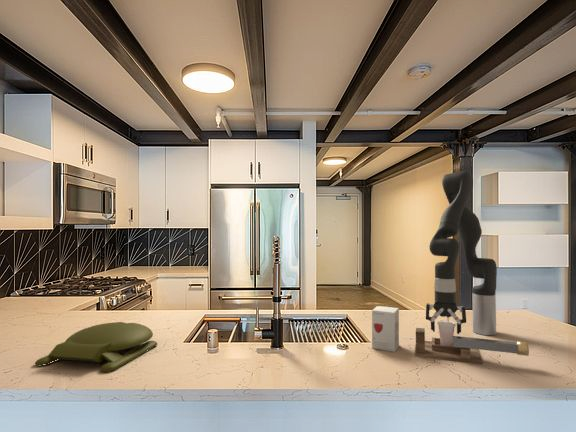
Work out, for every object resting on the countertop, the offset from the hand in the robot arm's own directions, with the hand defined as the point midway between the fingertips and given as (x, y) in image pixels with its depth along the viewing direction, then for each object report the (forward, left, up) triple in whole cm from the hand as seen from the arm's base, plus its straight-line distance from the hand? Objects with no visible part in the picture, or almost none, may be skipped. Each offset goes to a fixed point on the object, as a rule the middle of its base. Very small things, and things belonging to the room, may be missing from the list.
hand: (445, 332), depth 137 cm
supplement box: (+4, -22, -7) cm, 23 cm away
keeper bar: (+8, +13, -3) cm, 16 cm away
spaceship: (+49, -120, -8) cm, 130 cm away
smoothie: (0, 0, -6) cm, 6 cm away
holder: (+2, 0, -7) cm, 7 cm away
